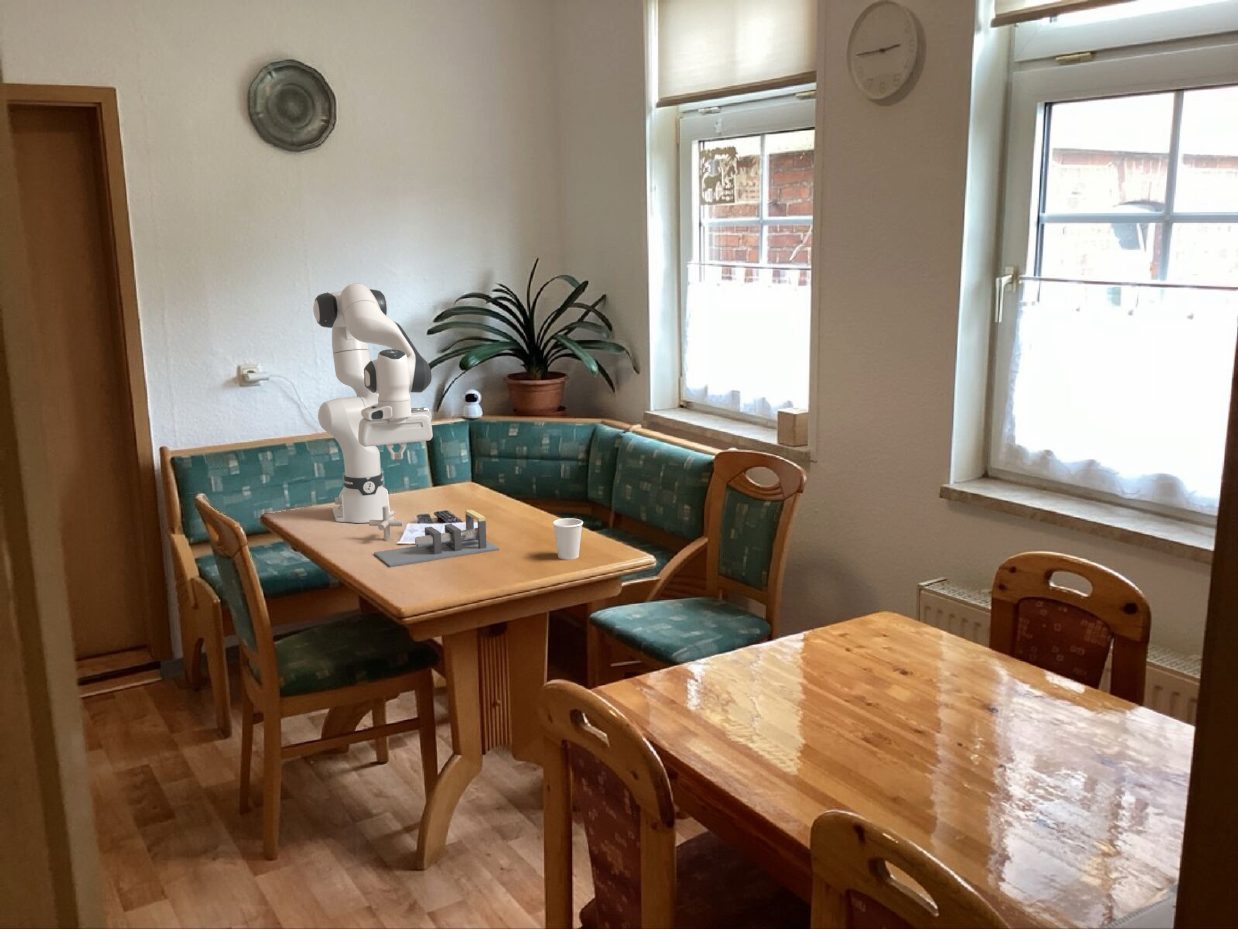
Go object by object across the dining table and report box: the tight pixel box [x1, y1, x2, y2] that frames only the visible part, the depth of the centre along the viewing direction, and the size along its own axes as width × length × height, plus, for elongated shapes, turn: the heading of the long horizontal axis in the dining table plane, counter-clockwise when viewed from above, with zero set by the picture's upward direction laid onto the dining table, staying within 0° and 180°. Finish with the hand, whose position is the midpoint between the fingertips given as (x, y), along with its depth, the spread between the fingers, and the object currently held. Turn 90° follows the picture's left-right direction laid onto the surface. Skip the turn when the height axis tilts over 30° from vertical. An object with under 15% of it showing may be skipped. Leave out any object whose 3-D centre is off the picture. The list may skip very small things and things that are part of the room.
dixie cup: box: [552, 517, 584, 561], centre depth 297 cm, size 8×8×10 cm
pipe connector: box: [368, 505, 405, 541], centre depth 315 cm, size 10×10×10 cm
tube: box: [414, 527, 478, 548], centre depth 304 cm, size 4×20×4 cm, turn 120°
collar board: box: [373, 509, 500, 568], centre depth 302 cm, size 14×32×10 cm, turn 120°
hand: (396, 459), depth 295 cm, fingers closed
